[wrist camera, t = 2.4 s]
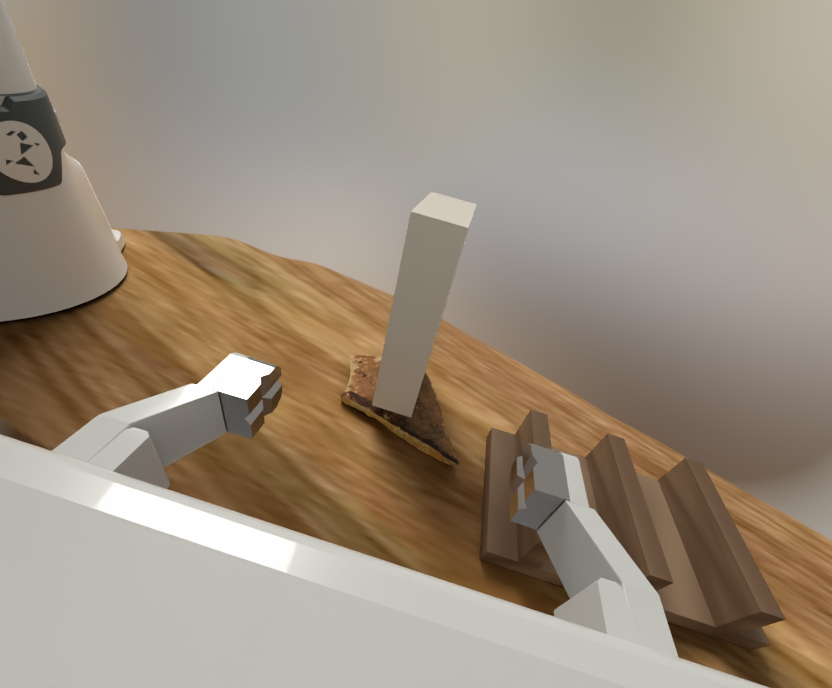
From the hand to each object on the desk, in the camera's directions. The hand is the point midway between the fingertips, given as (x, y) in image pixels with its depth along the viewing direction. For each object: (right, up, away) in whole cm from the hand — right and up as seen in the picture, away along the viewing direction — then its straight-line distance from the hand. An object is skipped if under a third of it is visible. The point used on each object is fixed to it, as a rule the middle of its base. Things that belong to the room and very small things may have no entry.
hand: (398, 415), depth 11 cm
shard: (0, -3, +18) cm, 18 cm away
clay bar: (-1, -1, +16) cm, 16 cm away
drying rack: (+13, -10, +12) cm, 20 cm away
